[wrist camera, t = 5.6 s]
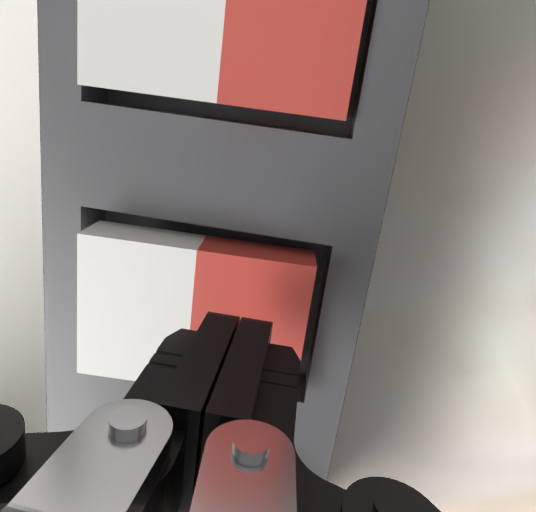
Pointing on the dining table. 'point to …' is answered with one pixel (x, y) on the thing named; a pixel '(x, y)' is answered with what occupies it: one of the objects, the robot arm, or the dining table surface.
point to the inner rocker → (225, 51)
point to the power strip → (223, 197)
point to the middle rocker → (179, 291)
